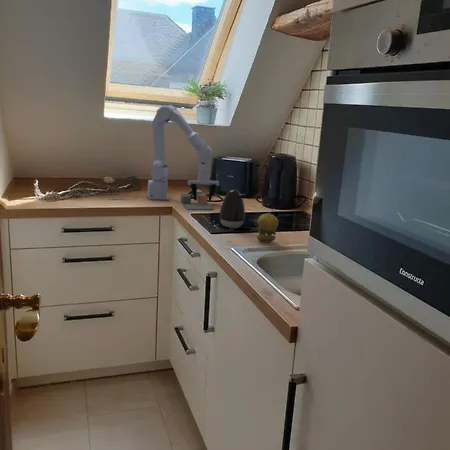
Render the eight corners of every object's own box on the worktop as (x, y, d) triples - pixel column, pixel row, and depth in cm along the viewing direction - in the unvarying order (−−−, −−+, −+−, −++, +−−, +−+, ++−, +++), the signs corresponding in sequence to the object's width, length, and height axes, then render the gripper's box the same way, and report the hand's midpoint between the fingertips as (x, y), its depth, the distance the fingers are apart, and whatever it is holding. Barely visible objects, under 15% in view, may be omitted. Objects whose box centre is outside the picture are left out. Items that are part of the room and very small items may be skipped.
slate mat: (186, 210, 216) (186, 208, 216) (183, 205, 224) (183, 204, 224) (212, 210, 219) (213, 208, 219) (208, 205, 227) (208, 204, 227)
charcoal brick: (183, 204, 226) (183, 196, 225) (180, 202, 231) (181, 193, 230) (190, 205, 227) (191, 196, 226) (188, 202, 232) (188, 193, 231)
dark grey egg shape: (236, 232, 187) (239, 193, 183) (213, 226, 192) (216, 189, 188) (249, 227, 195) (252, 190, 191) (227, 222, 201) (230, 186, 197)
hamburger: (274, 240, 180) (277, 208, 177) (278, 246, 173) (281, 213, 170) (253, 239, 179) (256, 207, 176) (257, 245, 172) (260, 212, 169)
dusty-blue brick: (195, 199, 238) (195, 192, 237) (192, 197, 243) (193, 189, 242) (202, 200, 239) (202, 192, 238) (199, 197, 244) (200, 189, 243)
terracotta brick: (199, 205, 228) (200, 196, 227) (197, 202, 233) (197, 194, 232) (207, 205, 229) (207, 196, 228) (204, 202, 234) (204, 194, 233)
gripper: (190, 172, 221) (188, 201, 225) (221, 173, 225) (219, 202, 229) (187, 170, 228) (186, 198, 231) (217, 171, 232) (215, 198, 235)
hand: (202, 200), depth 231 cm, fingers open, 7 cm apart
